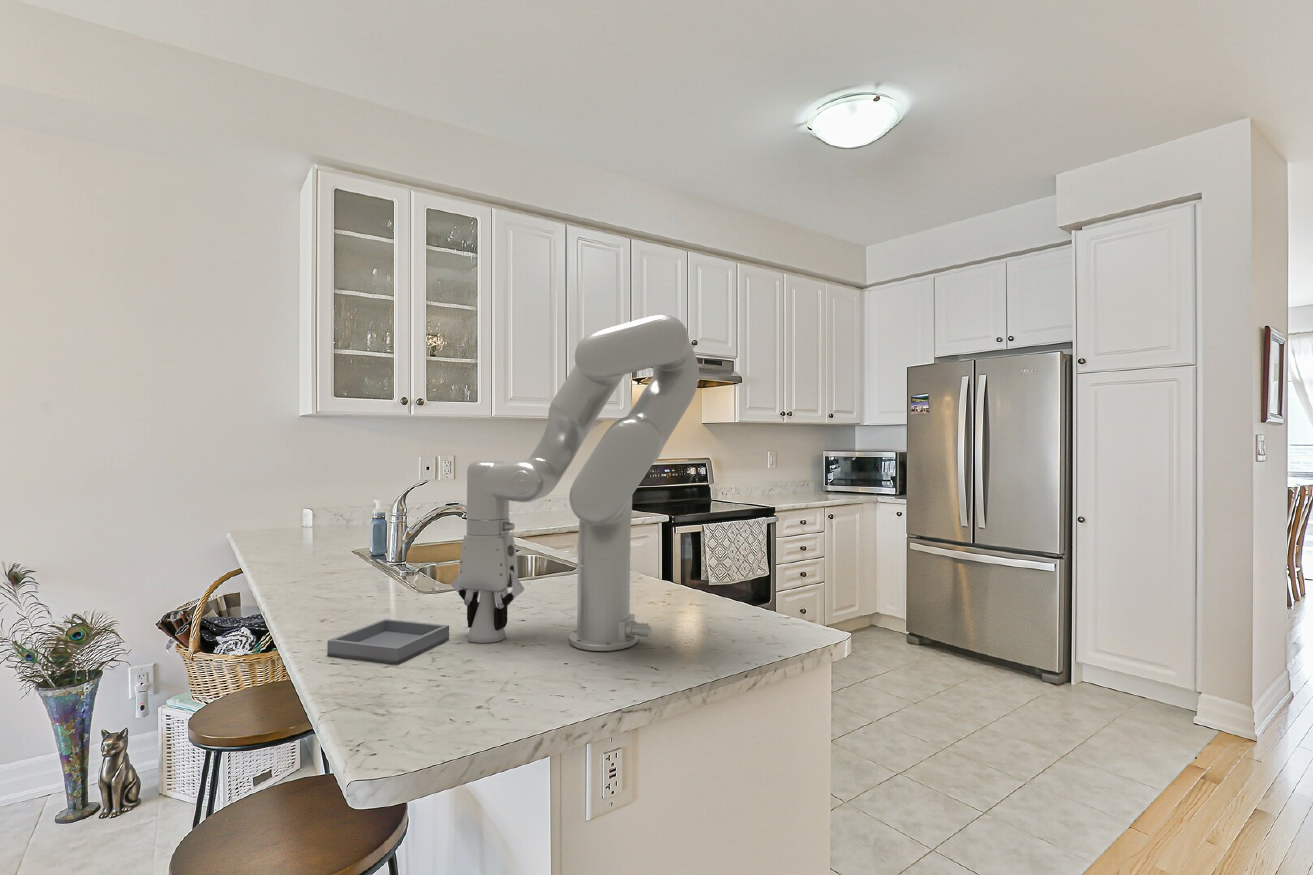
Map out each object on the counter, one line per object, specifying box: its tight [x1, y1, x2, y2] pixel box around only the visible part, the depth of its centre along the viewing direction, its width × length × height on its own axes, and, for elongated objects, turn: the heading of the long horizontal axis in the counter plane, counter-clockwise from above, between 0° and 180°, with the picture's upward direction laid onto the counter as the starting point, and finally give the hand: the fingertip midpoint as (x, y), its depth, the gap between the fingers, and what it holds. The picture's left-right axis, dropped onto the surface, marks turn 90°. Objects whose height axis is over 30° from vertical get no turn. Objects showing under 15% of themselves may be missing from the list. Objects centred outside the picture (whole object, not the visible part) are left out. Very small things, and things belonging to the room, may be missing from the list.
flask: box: [467, 591, 507, 644], centre depth 119 cm, size 7×7×10 cm
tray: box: [326, 618, 450, 666], centre depth 113 cm, size 14×14×3 cm
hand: (487, 626), depth 119 cm, fingers closed on flask, 4 cm apart
